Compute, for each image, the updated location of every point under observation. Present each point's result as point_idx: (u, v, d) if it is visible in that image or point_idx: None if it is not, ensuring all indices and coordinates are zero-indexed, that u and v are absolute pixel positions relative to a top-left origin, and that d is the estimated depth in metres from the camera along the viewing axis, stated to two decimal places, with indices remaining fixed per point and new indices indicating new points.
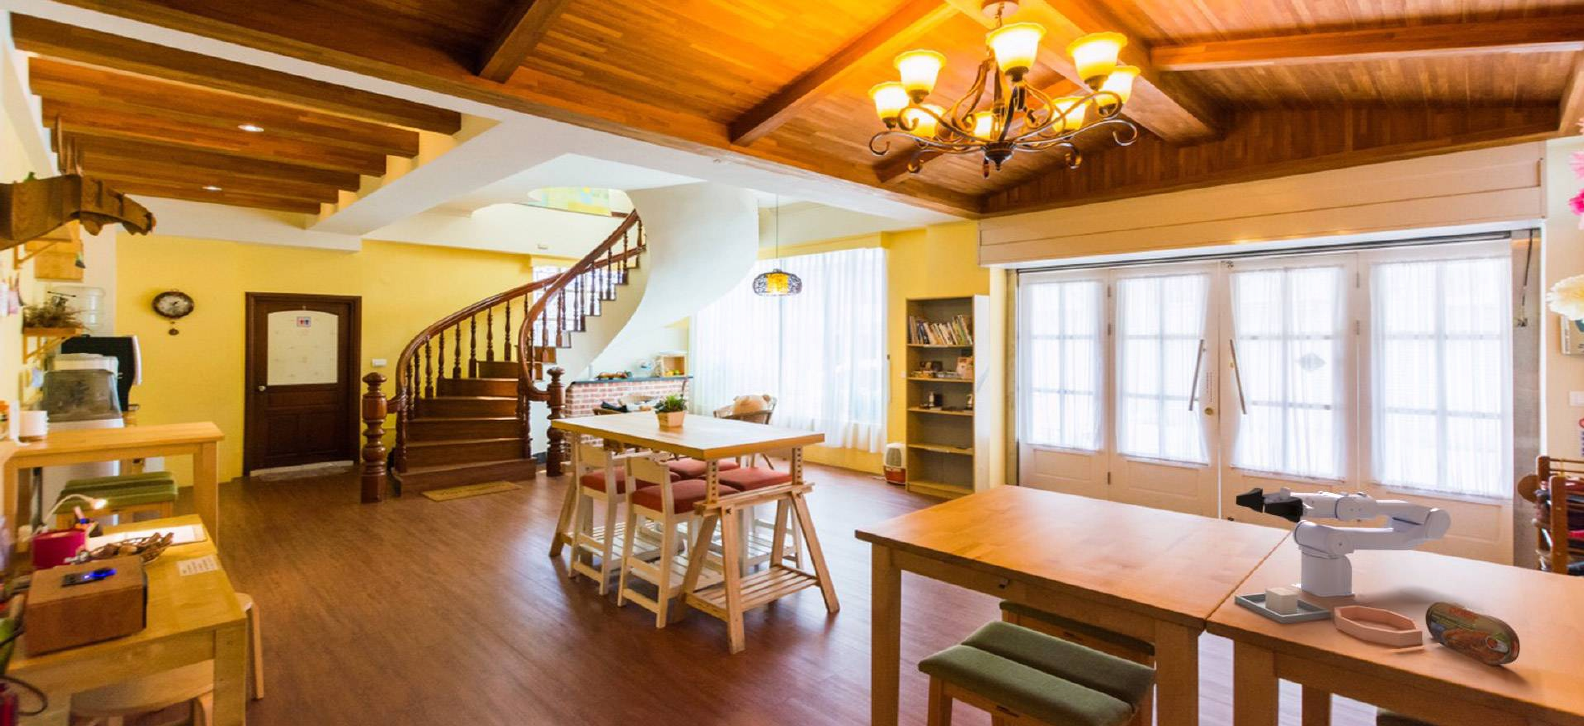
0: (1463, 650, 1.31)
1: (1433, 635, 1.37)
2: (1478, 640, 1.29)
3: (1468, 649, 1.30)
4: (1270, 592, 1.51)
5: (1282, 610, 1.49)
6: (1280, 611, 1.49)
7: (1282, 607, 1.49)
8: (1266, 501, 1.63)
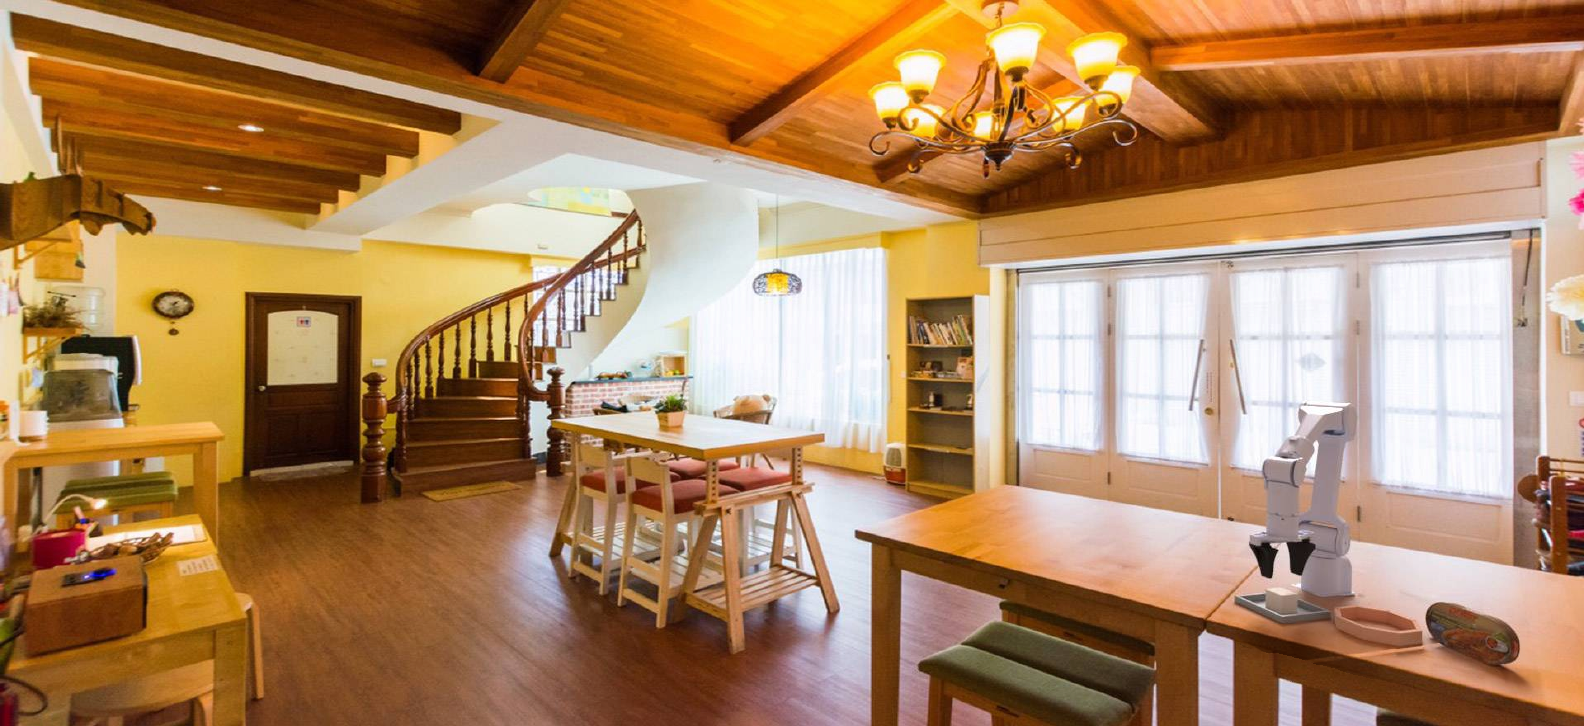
0: (1463, 651, 1.31)
1: (1433, 635, 1.37)
2: (1478, 640, 1.29)
3: (1468, 649, 1.30)
4: (1270, 592, 1.51)
5: (1282, 610, 1.49)
6: (1280, 611, 1.49)
7: (1282, 607, 1.49)
8: None
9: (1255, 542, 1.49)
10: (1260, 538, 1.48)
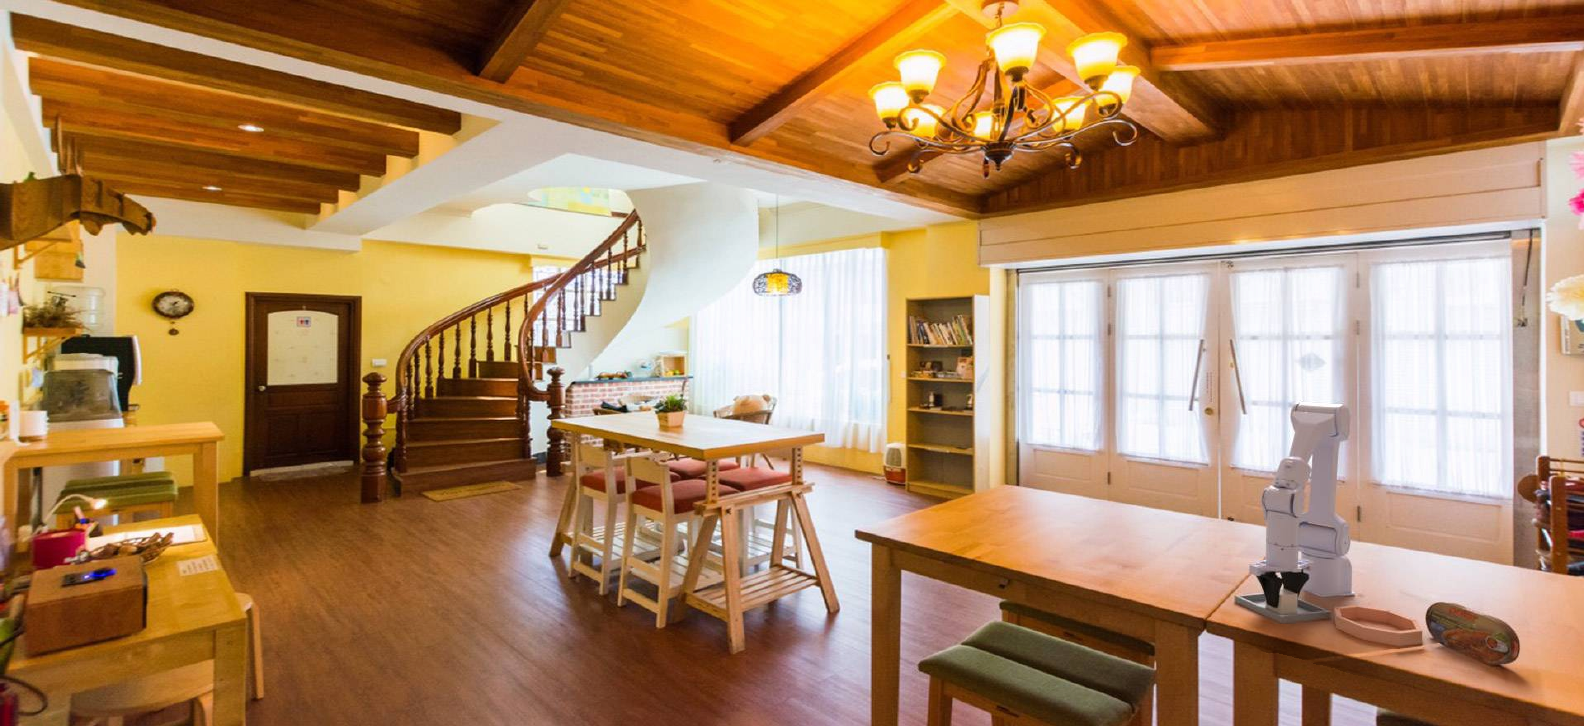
0: (1463, 651, 1.31)
1: (1433, 635, 1.37)
2: (1478, 640, 1.29)
3: (1468, 649, 1.30)
4: None
5: (1282, 610, 1.49)
6: (1280, 611, 1.49)
7: (1282, 607, 1.49)
8: None
9: (1255, 572, 1.49)
10: (1260, 568, 1.49)
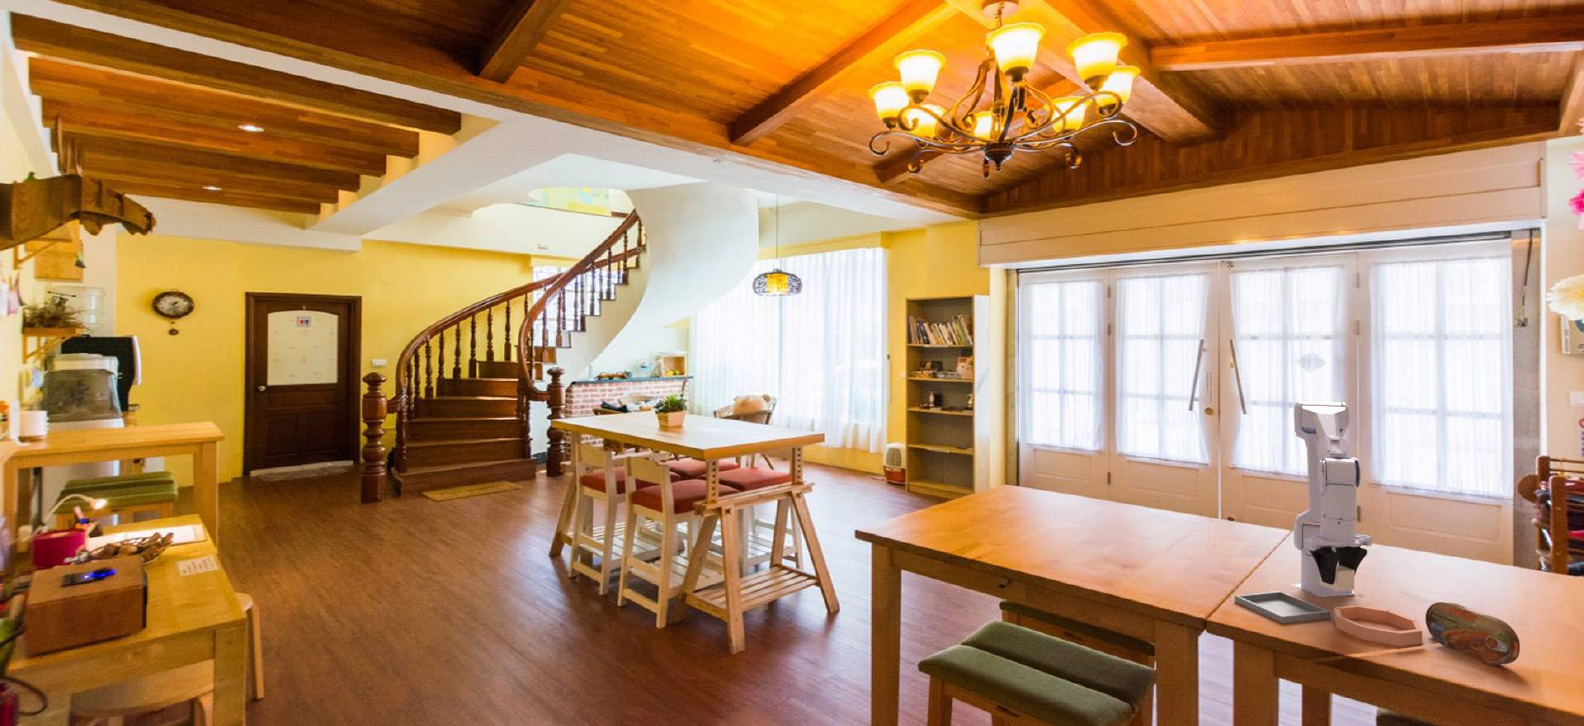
0: (1463, 651, 1.31)
1: (1433, 635, 1.37)
2: (1478, 640, 1.29)
3: (1468, 649, 1.30)
4: None
5: (1338, 586, 1.42)
6: (1336, 588, 1.42)
7: (1338, 583, 1.42)
8: None
9: (1310, 547, 1.42)
10: (1315, 543, 1.42)
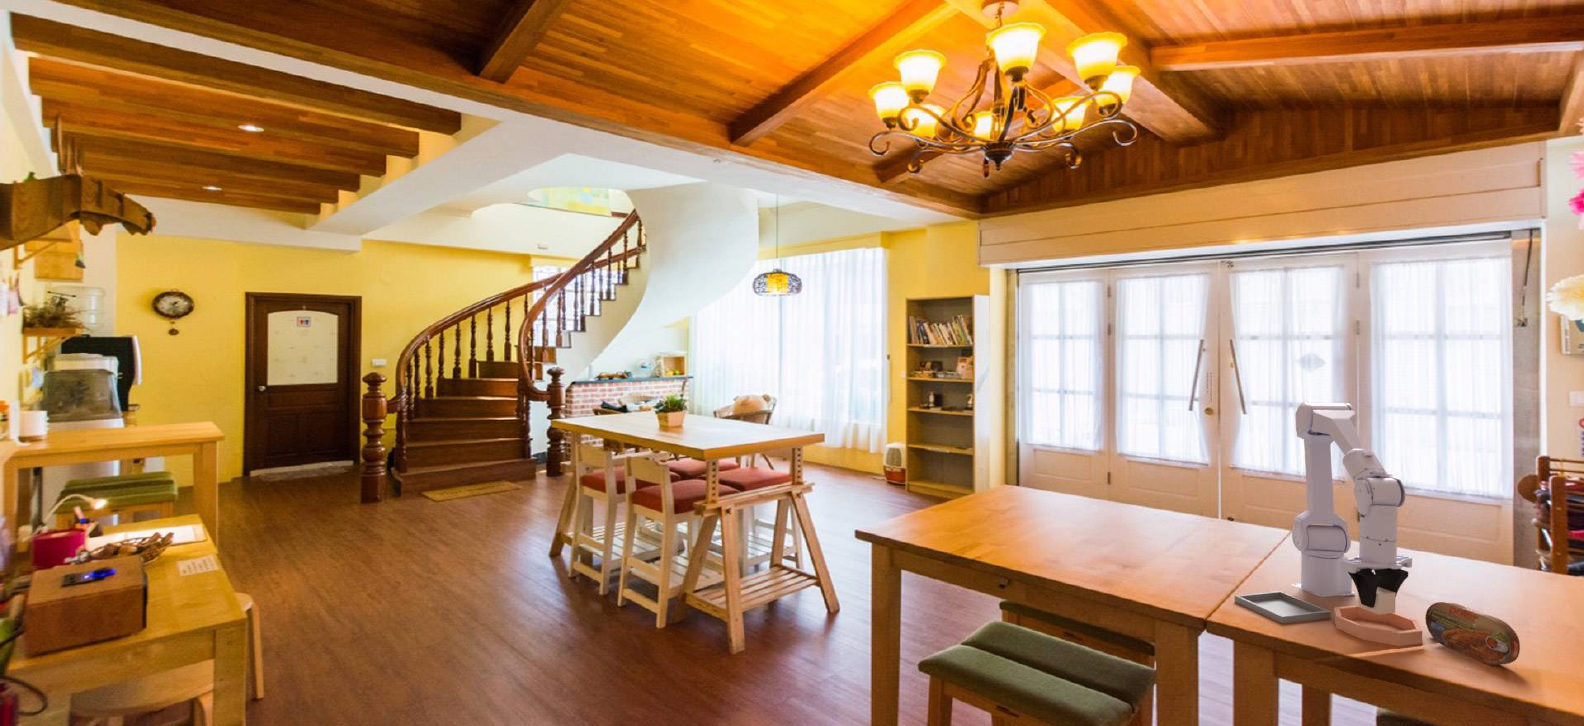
0: (1463, 650, 1.31)
1: (1433, 635, 1.37)
2: (1478, 639, 1.29)
3: (1468, 649, 1.30)
4: None
5: (1379, 610, 1.38)
6: (1377, 611, 1.38)
7: (1379, 606, 1.38)
8: None
9: (1350, 569, 1.38)
10: (1355, 565, 1.37)
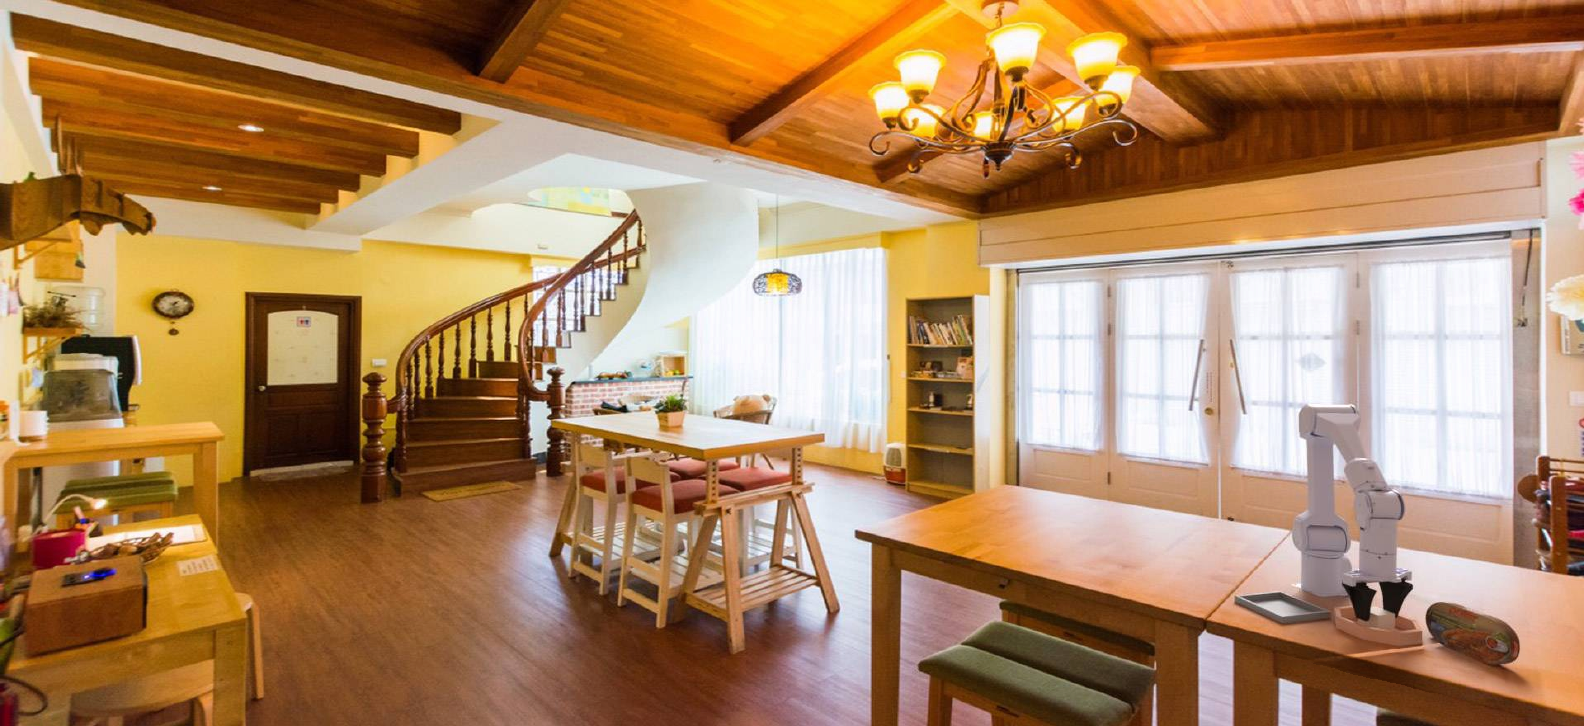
0: (1463, 650, 1.31)
1: (1433, 635, 1.37)
2: (1478, 639, 1.29)
3: (1468, 649, 1.30)
4: None
5: None
6: None
7: (1378, 628, 1.38)
8: None
9: (1349, 582, 1.38)
10: (1355, 578, 1.37)
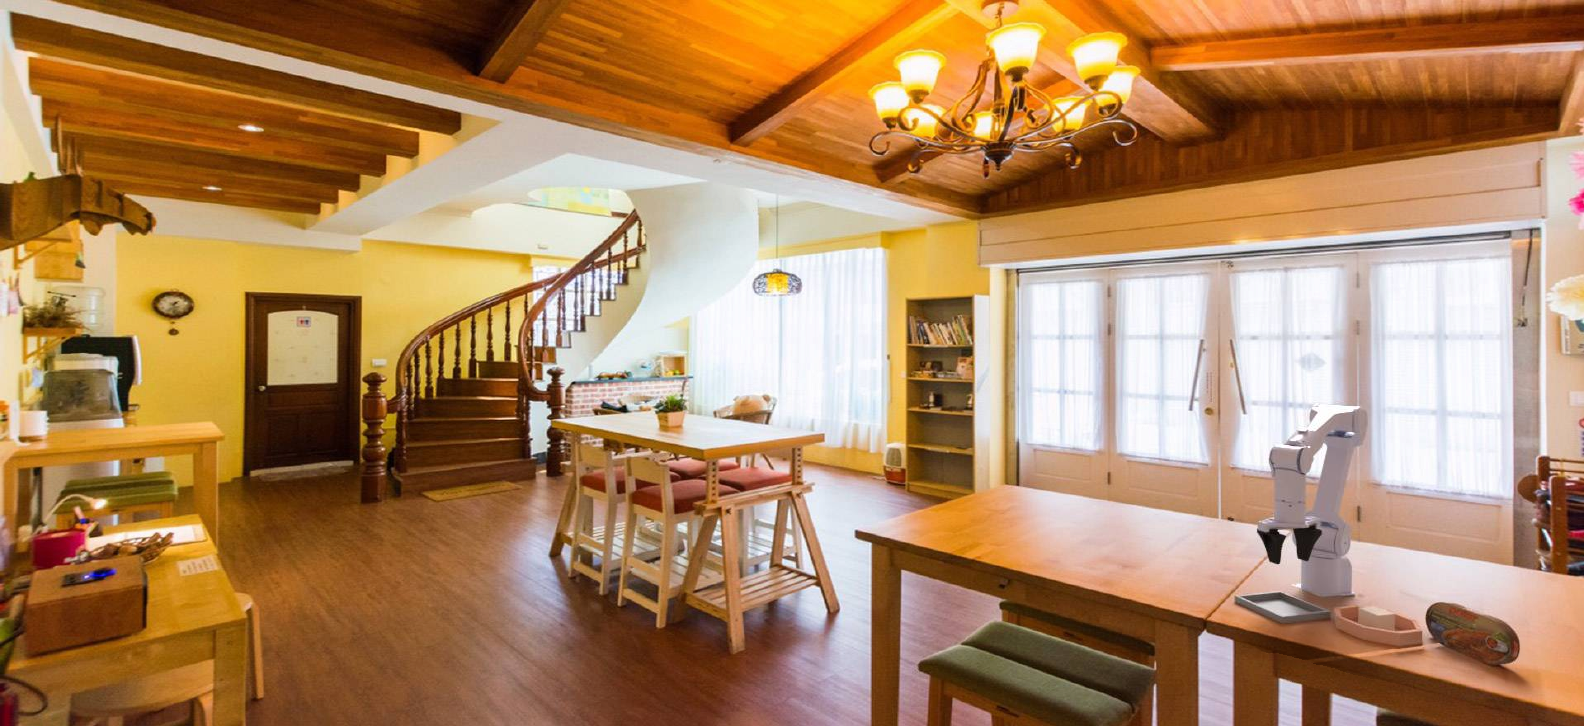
0: (1463, 650, 1.31)
1: (1433, 635, 1.37)
2: (1478, 640, 1.29)
3: (1468, 649, 1.30)
4: (1364, 611, 1.40)
5: None
6: None
7: (1378, 628, 1.38)
8: None
9: (1263, 528, 1.52)
10: (1268, 524, 1.51)
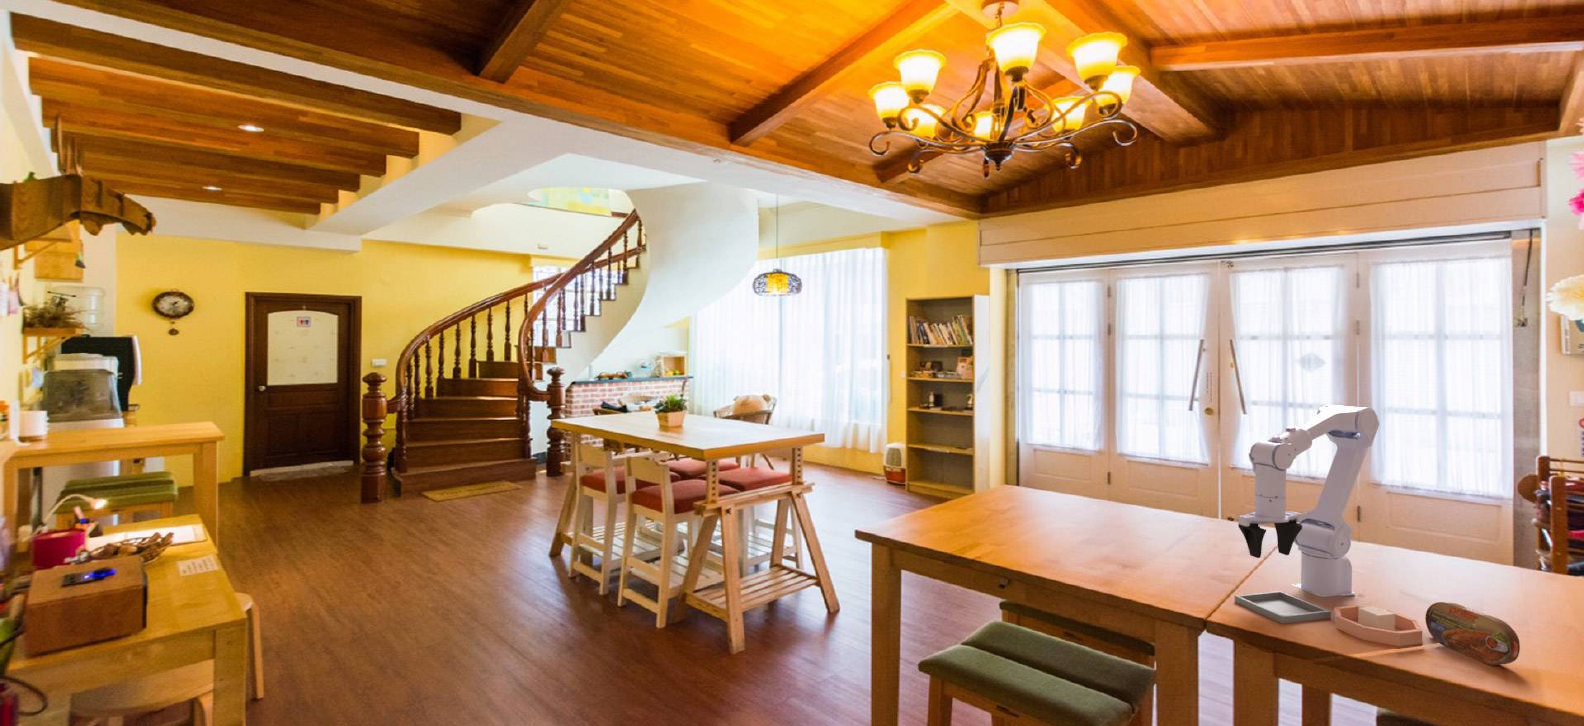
0: (1463, 650, 1.31)
1: (1433, 635, 1.37)
2: (1478, 639, 1.29)
3: (1468, 649, 1.30)
4: (1364, 611, 1.40)
5: None
6: None
7: (1378, 628, 1.38)
8: None
9: (1244, 523, 1.55)
10: (1249, 519, 1.55)
